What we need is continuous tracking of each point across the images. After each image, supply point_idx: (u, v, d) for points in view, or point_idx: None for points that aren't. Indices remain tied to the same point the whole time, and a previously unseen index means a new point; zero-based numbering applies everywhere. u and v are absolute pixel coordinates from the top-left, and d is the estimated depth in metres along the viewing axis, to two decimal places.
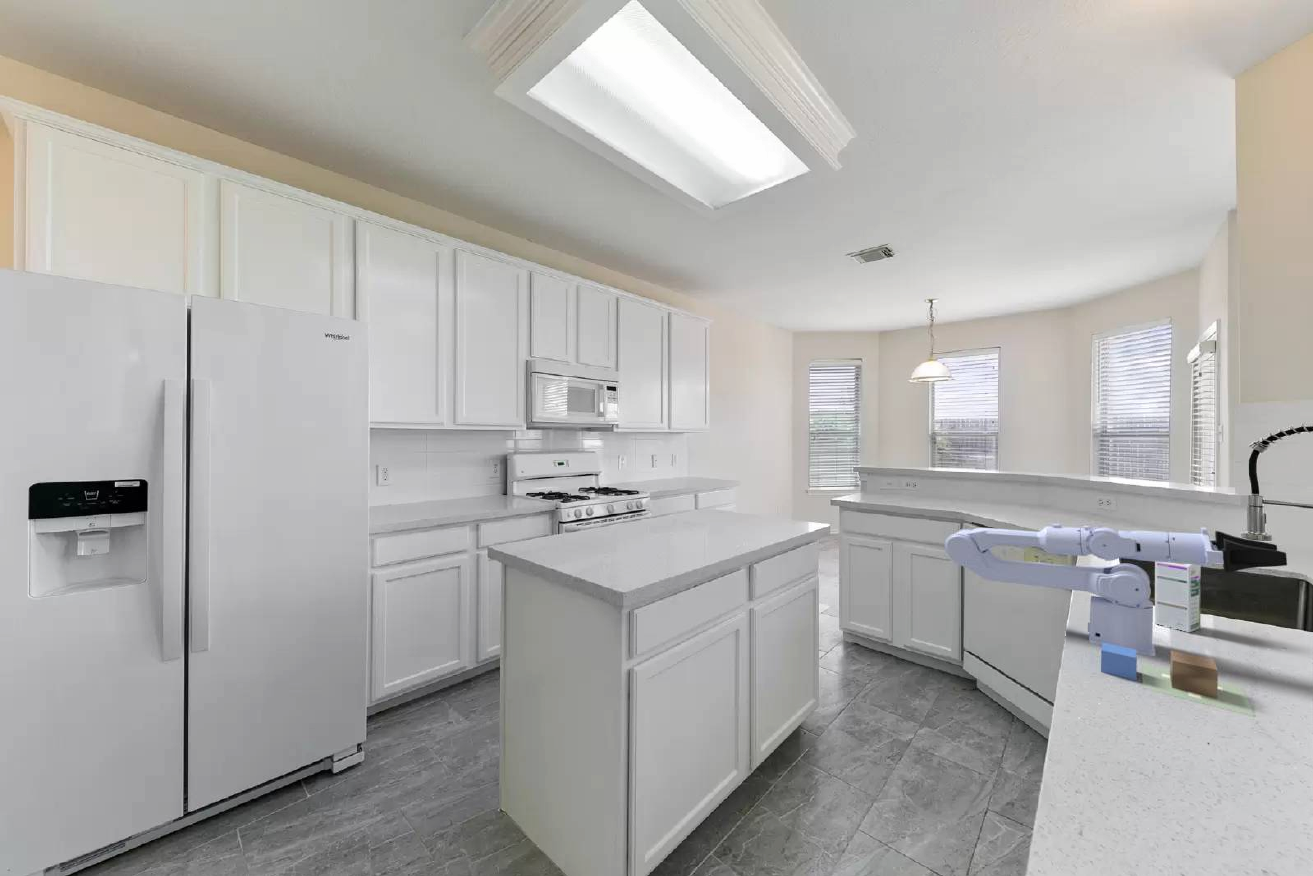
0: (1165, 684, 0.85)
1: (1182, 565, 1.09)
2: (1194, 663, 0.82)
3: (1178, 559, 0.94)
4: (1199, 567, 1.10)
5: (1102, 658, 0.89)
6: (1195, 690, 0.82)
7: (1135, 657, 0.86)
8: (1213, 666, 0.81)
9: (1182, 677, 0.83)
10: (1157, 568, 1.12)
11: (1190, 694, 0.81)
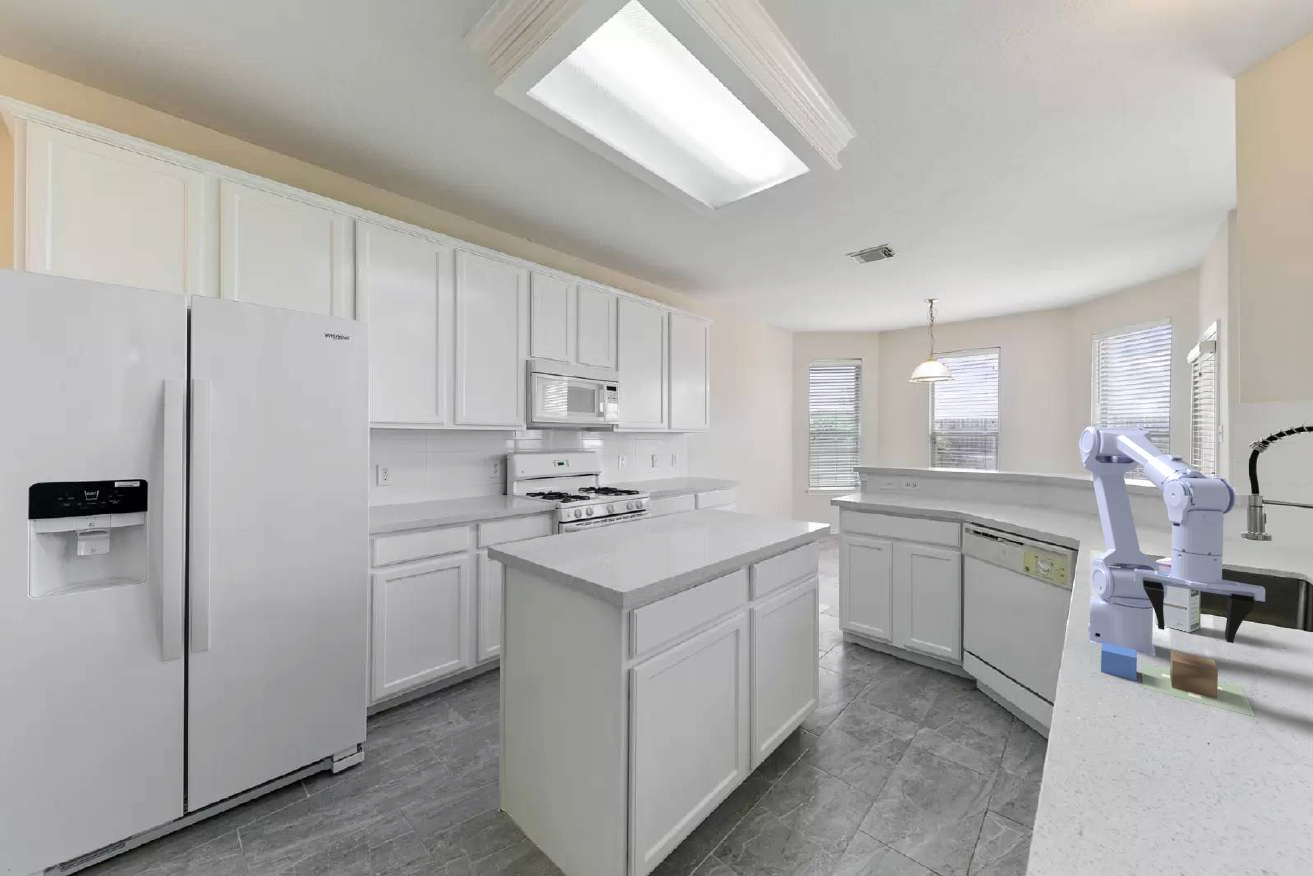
0: (1165, 684, 0.85)
1: None
2: (1194, 663, 0.82)
3: None
4: None
5: (1102, 658, 0.89)
6: (1195, 690, 0.82)
7: (1135, 657, 0.86)
8: (1213, 666, 0.81)
9: (1182, 677, 0.83)
10: None
11: (1190, 694, 0.81)
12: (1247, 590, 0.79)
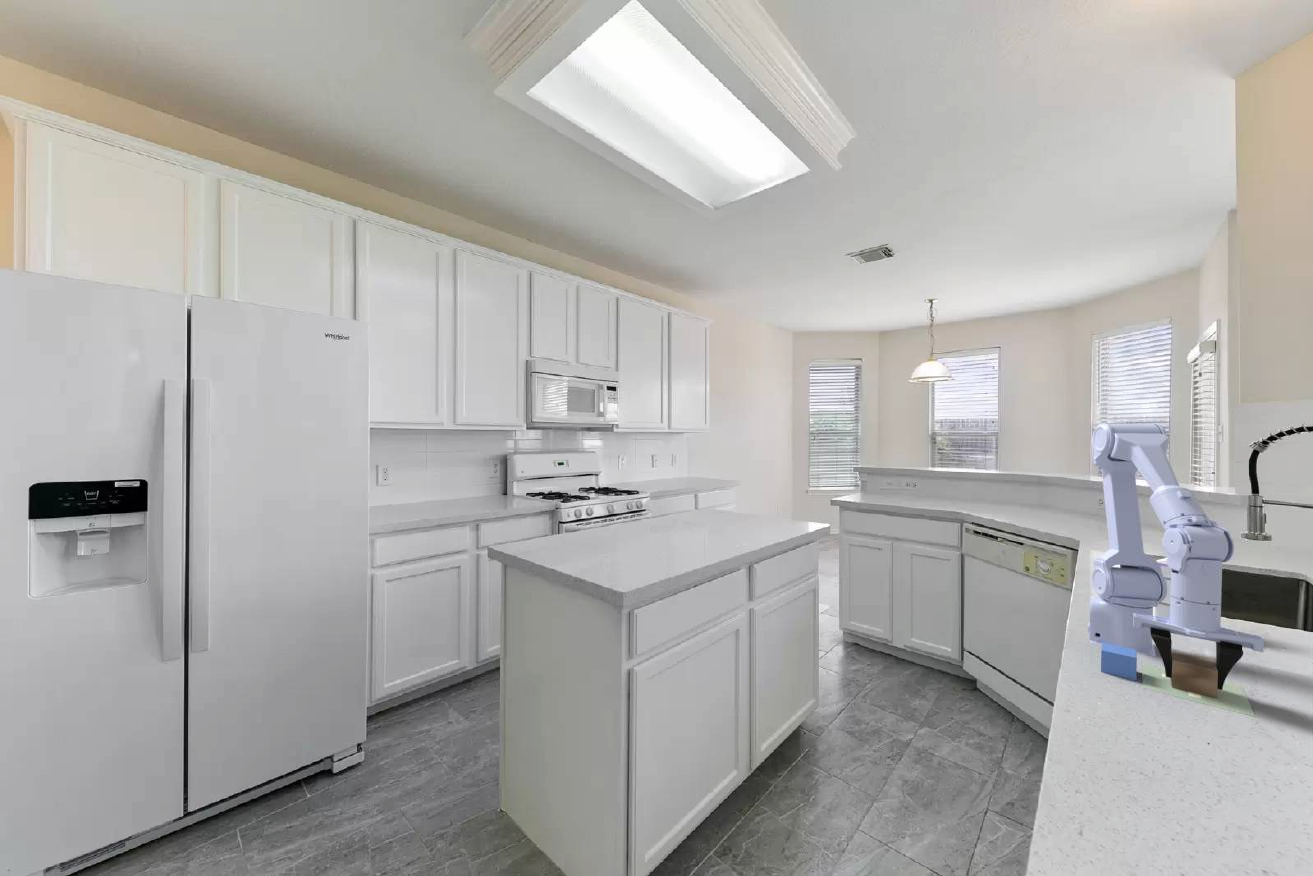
0: (1165, 684, 0.85)
1: None
2: (1194, 663, 0.82)
3: None
4: None
5: (1102, 658, 0.89)
6: (1195, 690, 0.82)
7: (1135, 657, 0.86)
8: (1213, 666, 0.81)
9: (1182, 677, 0.83)
10: None
11: (1190, 694, 0.81)
12: (1245, 640, 0.79)
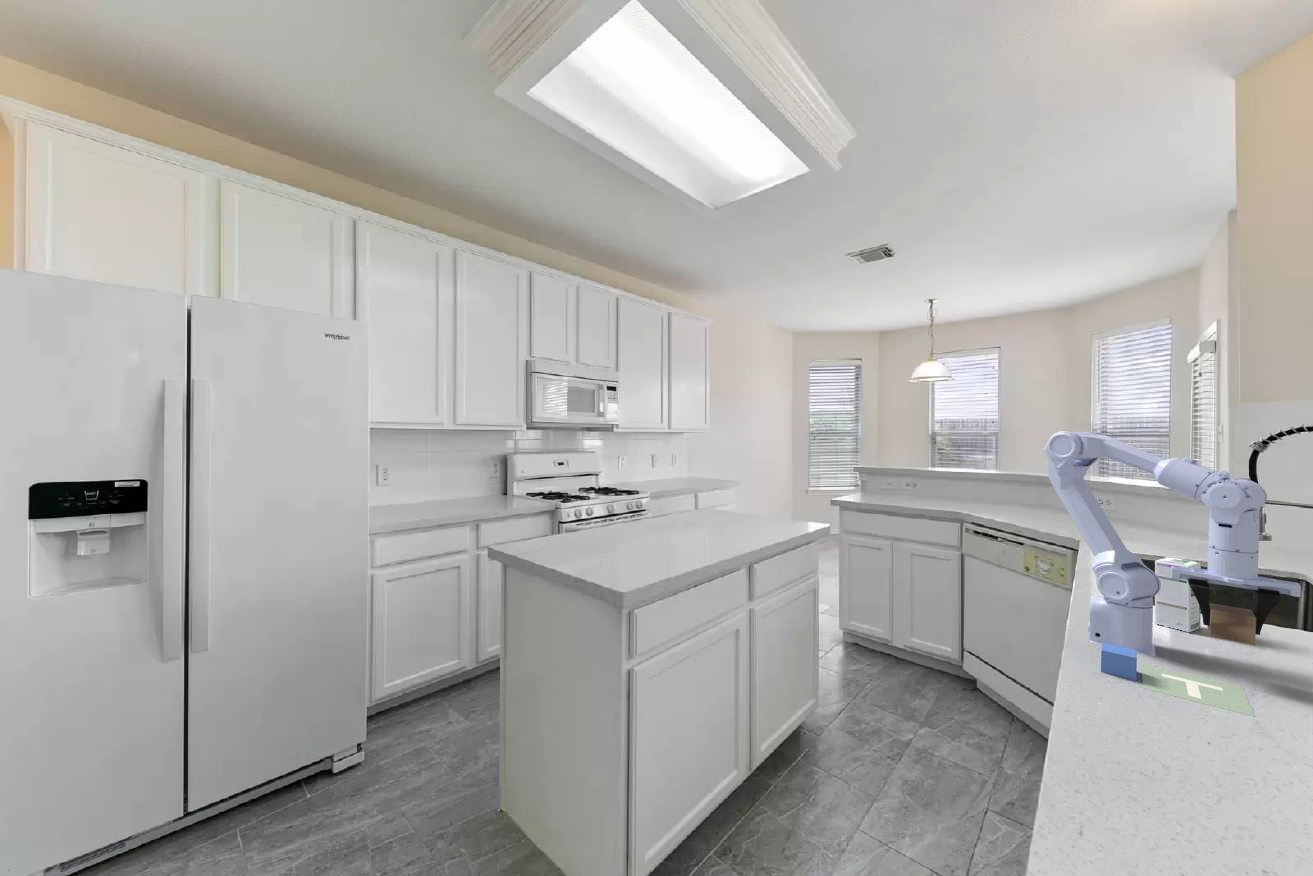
0: (1165, 684, 0.85)
1: (1182, 565, 1.09)
2: (1232, 612, 0.86)
3: None
4: (1199, 567, 1.10)
5: (1102, 658, 0.89)
6: (1233, 638, 0.85)
7: (1135, 657, 0.86)
8: (1251, 614, 0.85)
9: (1220, 626, 0.86)
10: (1157, 568, 1.12)
11: (1190, 694, 0.81)
12: (1283, 586, 0.83)
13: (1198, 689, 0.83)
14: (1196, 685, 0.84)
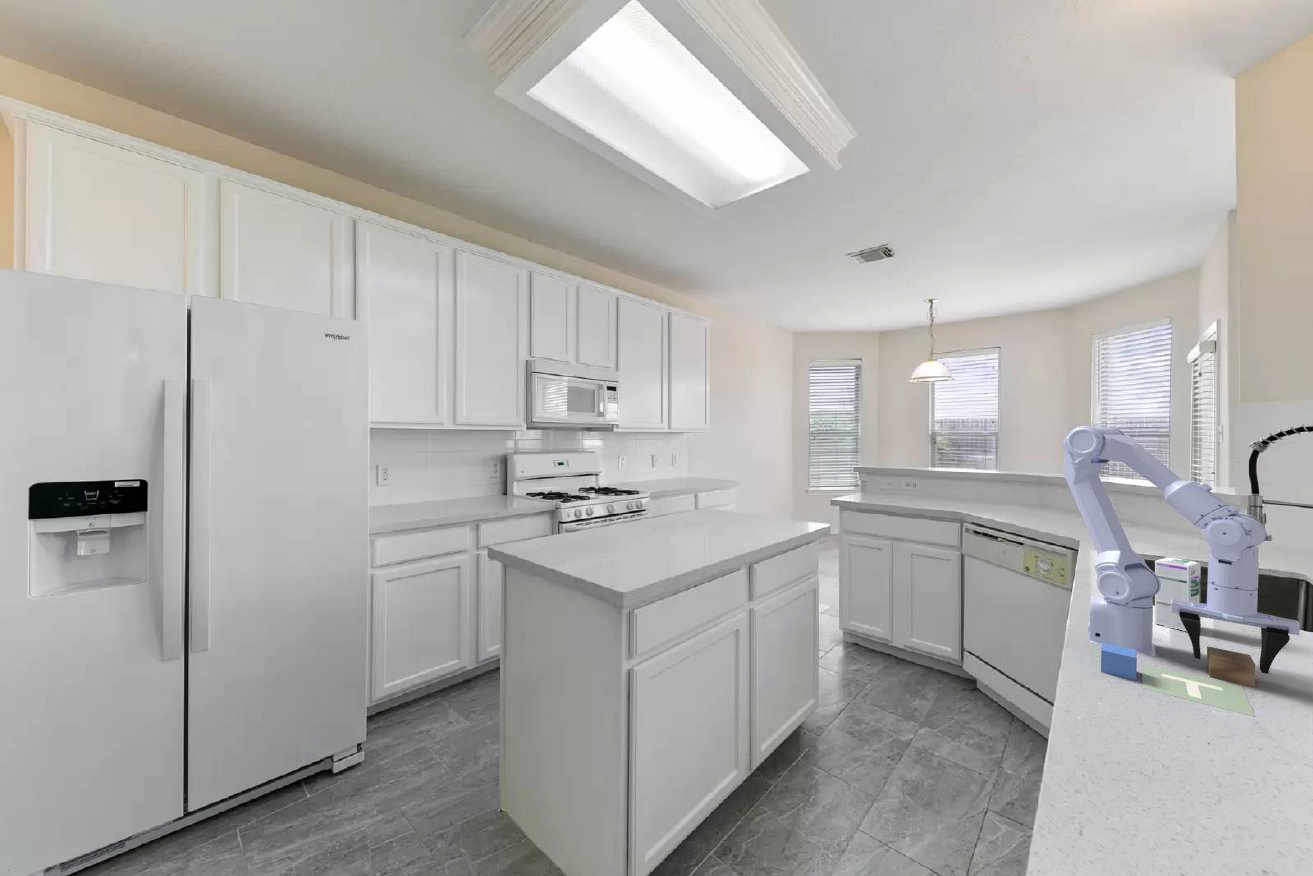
0: (1165, 684, 0.85)
1: (1182, 565, 1.09)
2: (1231, 657, 0.86)
3: None
4: (1199, 567, 1.10)
5: (1102, 658, 0.89)
6: None
7: (1135, 657, 0.86)
8: (1250, 660, 0.85)
9: (1220, 671, 0.86)
10: (1157, 568, 1.12)
11: (1190, 694, 0.81)
12: (1282, 624, 0.83)
13: (1198, 689, 0.83)
14: (1196, 685, 0.84)
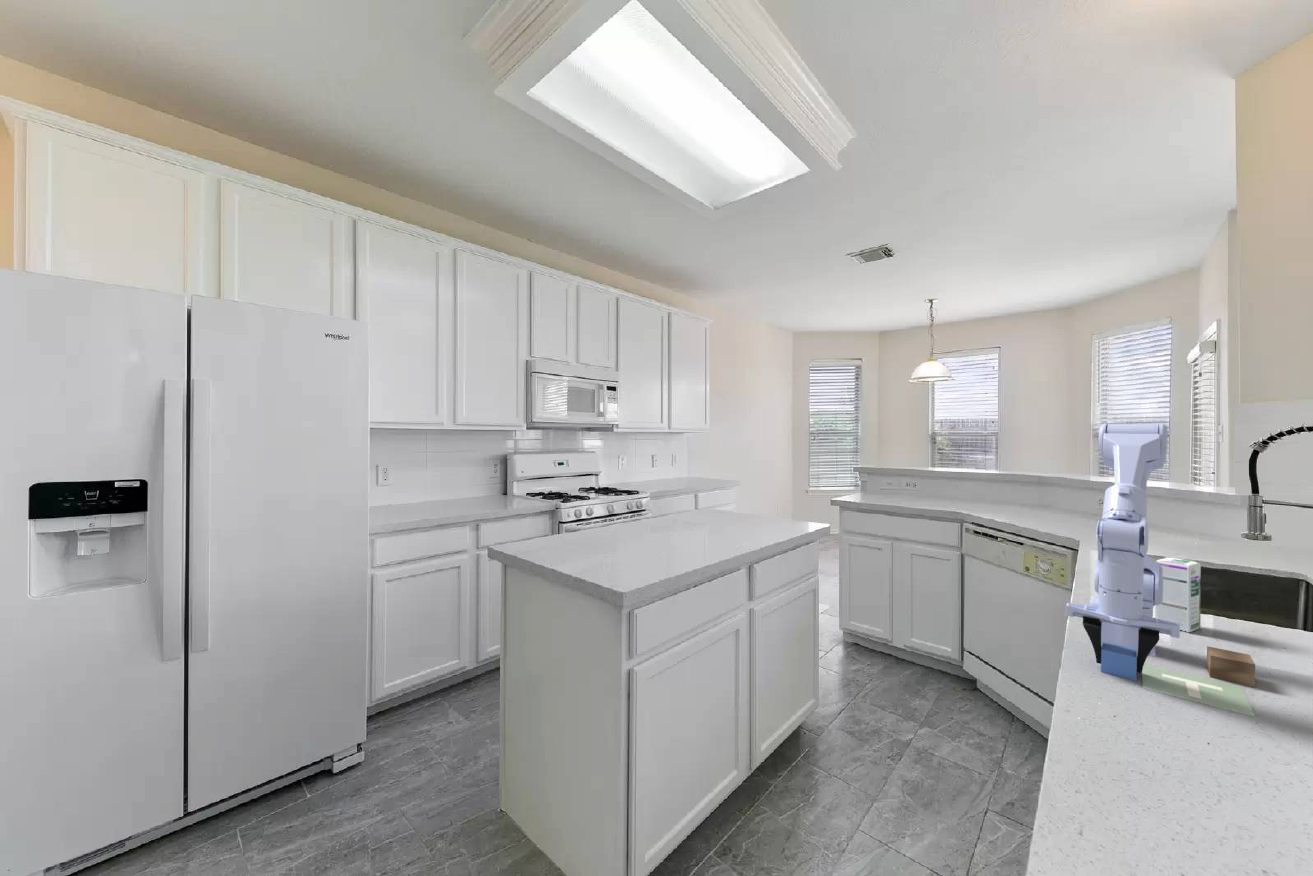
0: (1165, 684, 0.85)
1: (1182, 565, 1.09)
2: (1231, 657, 0.86)
3: None
4: (1199, 567, 1.10)
5: (1102, 657, 0.89)
6: None
7: (1135, 656, 0.86)
8: (1250, 660, 0.85)
9: (1220, 671, 0.86)
10: None
11: (1190, 694, 0.81)
12: (1164, 627, 0.84)
13: (1198, 689, 0.83)
14: (1196, 685, 0.84)
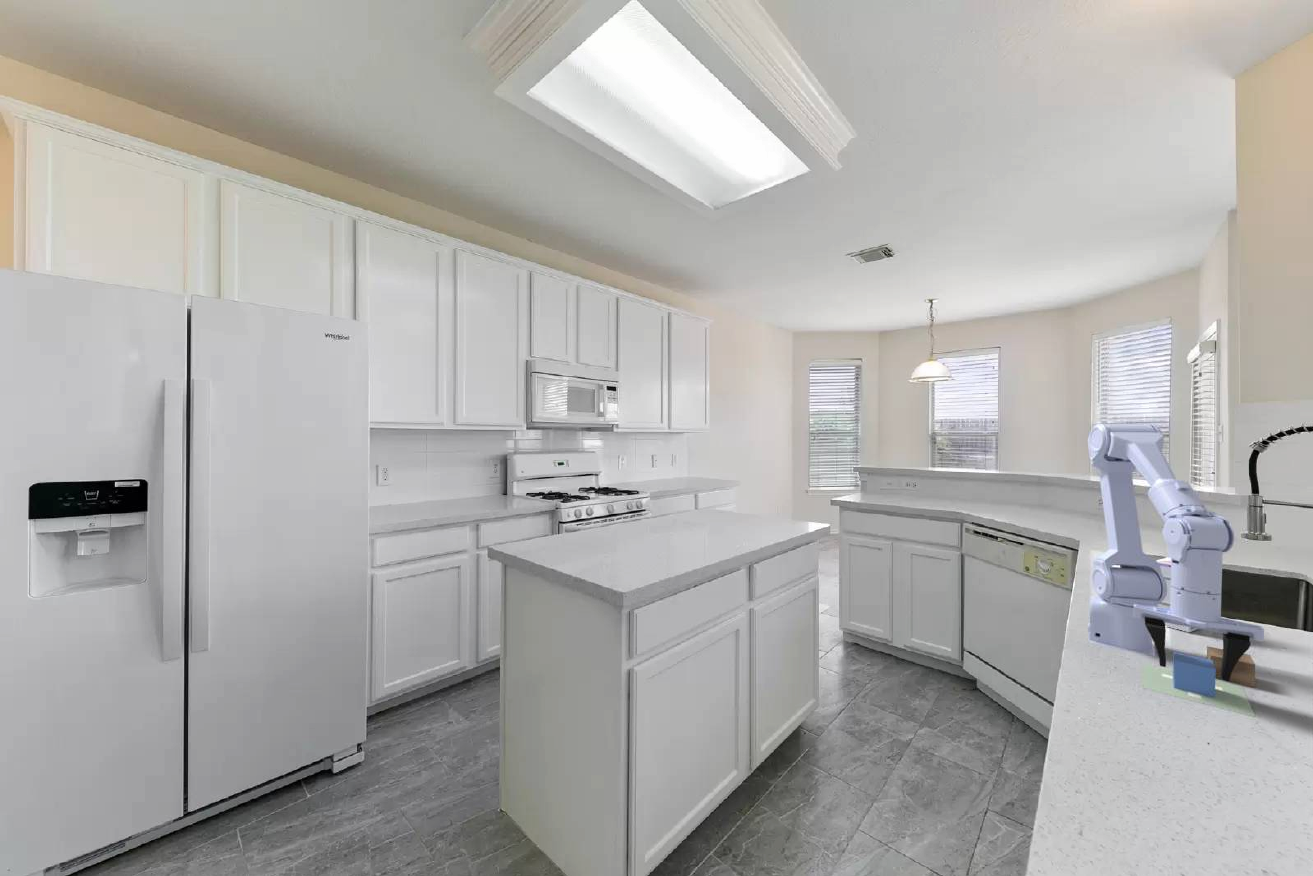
0: (1165, 684, 0.85)
1: None
2: None
3: None
4: None
5: (1176, 669, 0.83)
6: None
7: (1213, 668, 0.81)
8: (1250, 660, 0.85)
9: (1220, 671, 0.86)
10: None
11: (1190, 694, 0.81)
12: (1246, 630, 0.79)
13: None
14: None
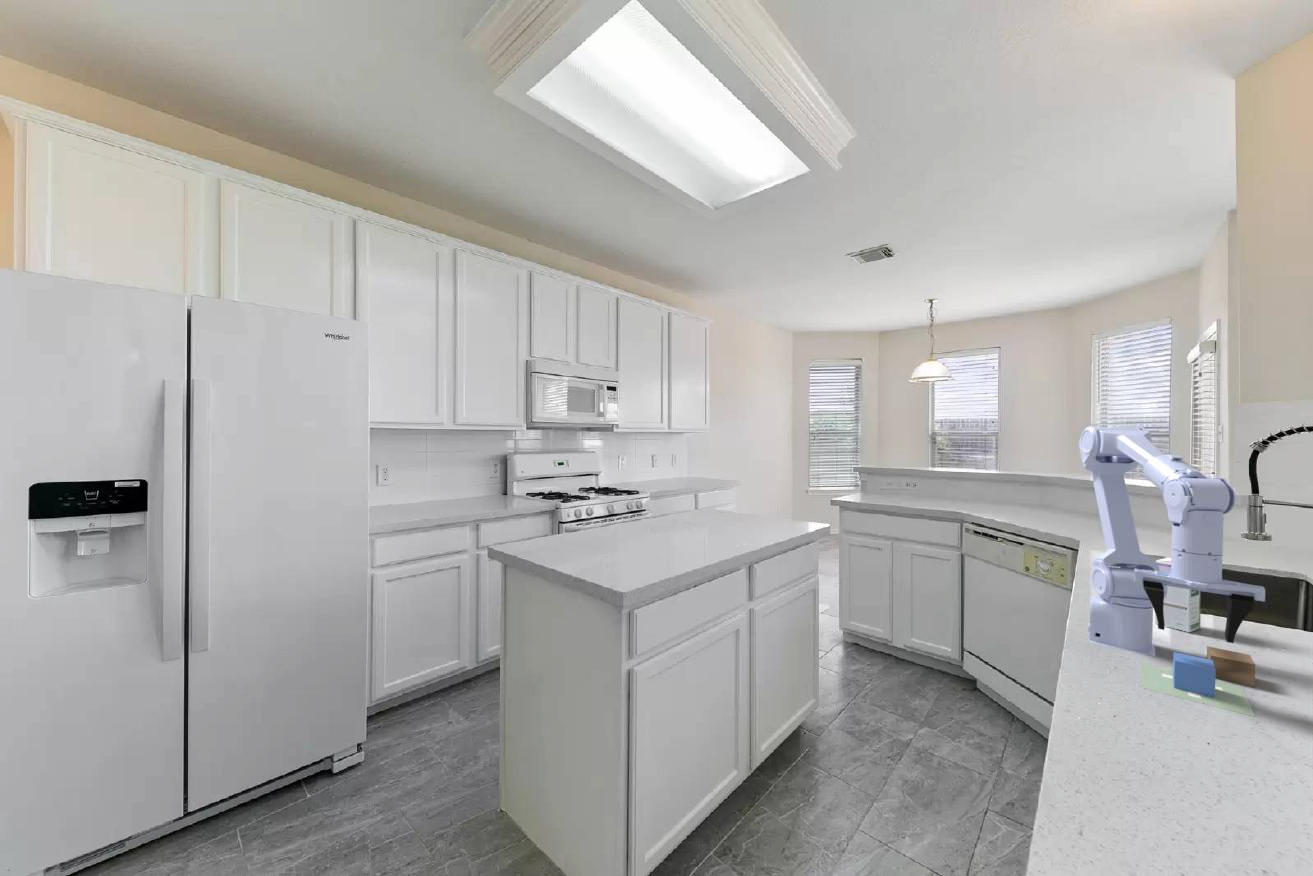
0: (1165, 684, 0.85)
1: None
2: (1231, 657, 0.86)
3: None
4: None
5: (1176, 669, 0.83)
6: None
7: (1213, 668, 0.81)
8: (1250, 660, 0.85)
9: (1220, 671, 0.86)
10: None
11: (1190, 694, 0.81)
12: (1247, 590, 0.79)
13: None
14: None
